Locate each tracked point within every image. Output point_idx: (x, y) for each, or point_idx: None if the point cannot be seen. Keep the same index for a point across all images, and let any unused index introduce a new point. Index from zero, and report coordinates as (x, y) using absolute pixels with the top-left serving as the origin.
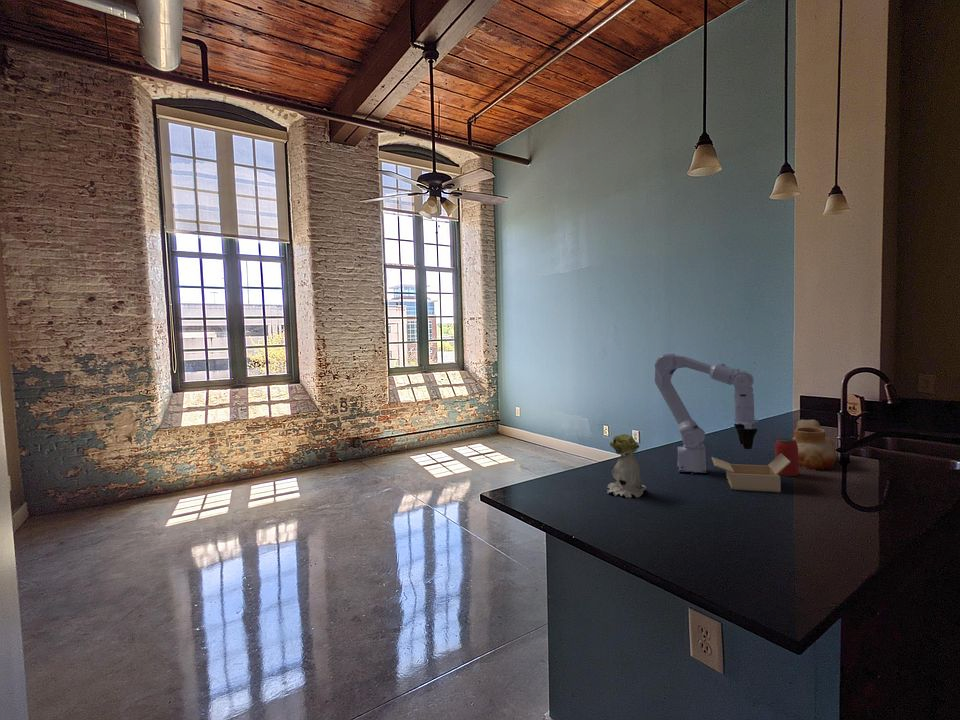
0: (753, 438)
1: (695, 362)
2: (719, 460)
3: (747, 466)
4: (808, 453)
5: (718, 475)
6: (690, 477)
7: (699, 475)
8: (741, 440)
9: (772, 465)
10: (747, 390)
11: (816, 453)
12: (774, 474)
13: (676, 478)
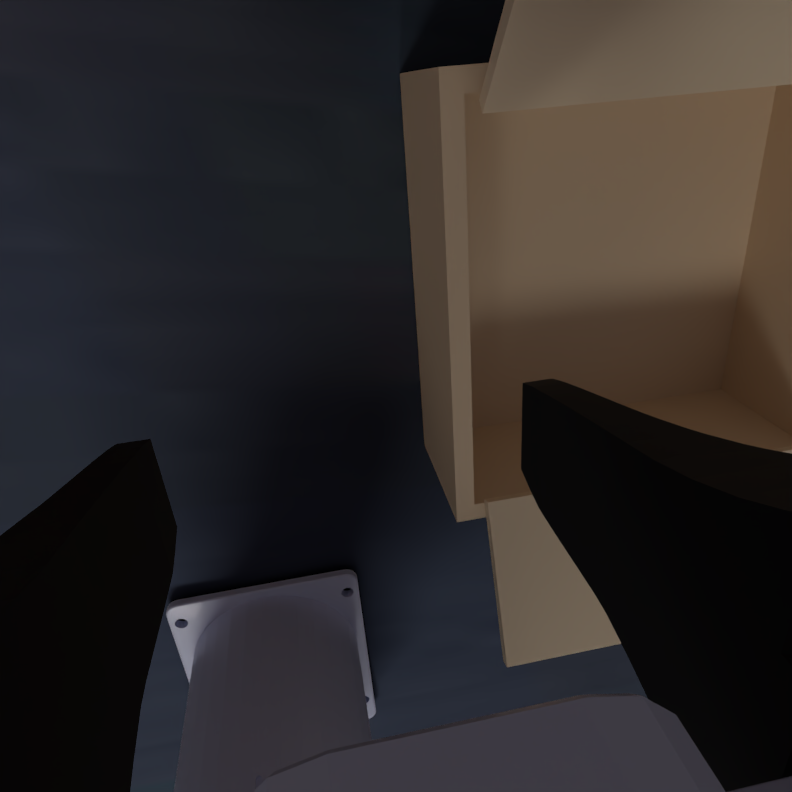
0: (721, 440)
1: None
2: (548, 593)
3: (467, 336)
4: None
5: (346, 502)
6: (461, 638)
7: (389, 605)
8: (161, 568)
9: (647, 67)
10: None
11: None
12: None
13: (505, 691)
